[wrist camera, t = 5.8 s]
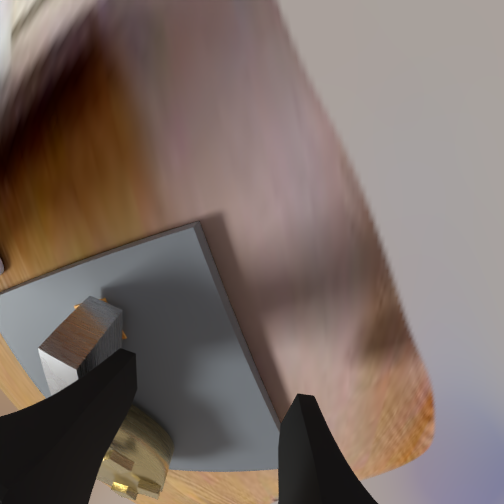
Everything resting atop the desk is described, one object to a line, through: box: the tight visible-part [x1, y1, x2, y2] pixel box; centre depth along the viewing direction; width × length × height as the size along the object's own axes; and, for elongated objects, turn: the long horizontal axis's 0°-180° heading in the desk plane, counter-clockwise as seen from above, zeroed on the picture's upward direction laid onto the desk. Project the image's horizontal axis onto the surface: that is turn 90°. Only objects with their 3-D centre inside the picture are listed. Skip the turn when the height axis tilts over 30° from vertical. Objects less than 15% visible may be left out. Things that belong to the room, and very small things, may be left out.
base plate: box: [0, 221, 281, 472], centre depth 14 cm, size 16×16×1 cm
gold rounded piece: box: [38, 296, 174, 500], centre depth 11 cm, size 14×8×4 cm, turn 163°
